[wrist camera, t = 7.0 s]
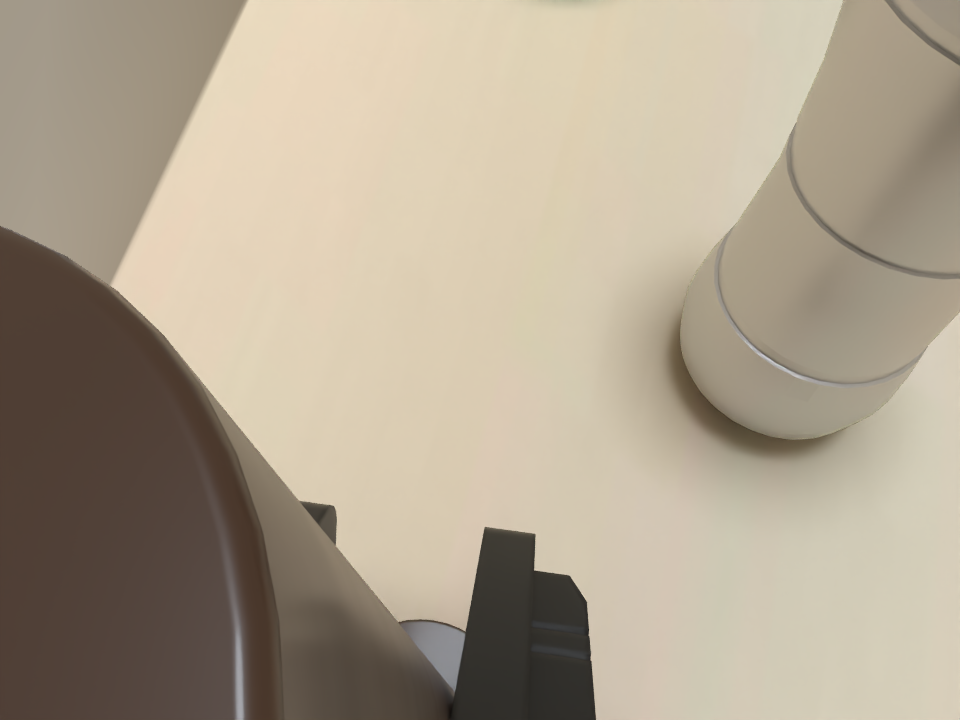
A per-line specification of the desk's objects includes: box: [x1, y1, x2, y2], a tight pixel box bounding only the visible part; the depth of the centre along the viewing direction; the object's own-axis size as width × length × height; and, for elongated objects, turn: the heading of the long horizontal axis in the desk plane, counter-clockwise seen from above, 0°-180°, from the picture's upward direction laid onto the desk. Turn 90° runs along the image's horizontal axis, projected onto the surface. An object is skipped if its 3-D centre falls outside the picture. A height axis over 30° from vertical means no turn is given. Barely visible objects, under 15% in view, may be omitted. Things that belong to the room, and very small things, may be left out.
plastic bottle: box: [680, 0, 960, 440], centre depth 14 cm, size 6×7×20 cm
